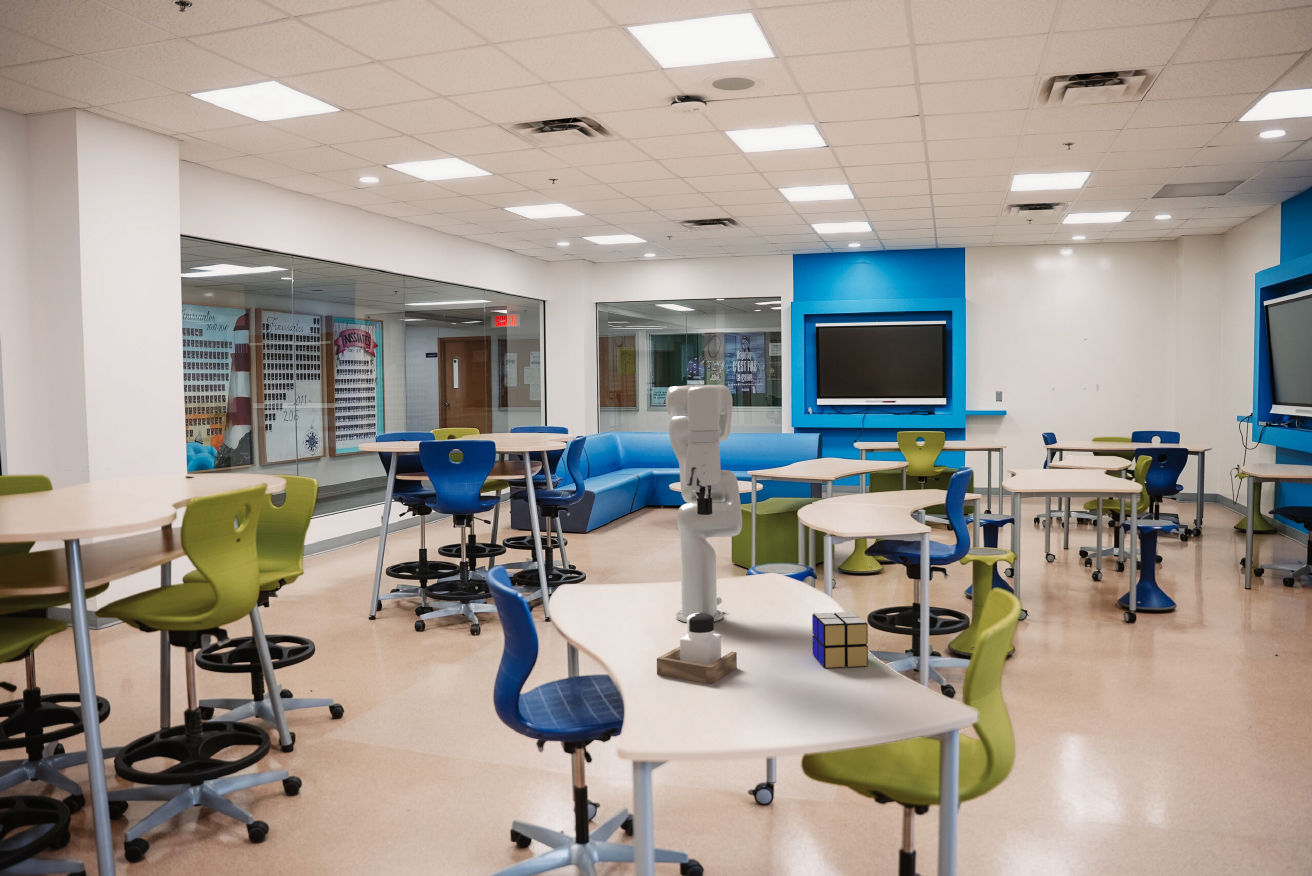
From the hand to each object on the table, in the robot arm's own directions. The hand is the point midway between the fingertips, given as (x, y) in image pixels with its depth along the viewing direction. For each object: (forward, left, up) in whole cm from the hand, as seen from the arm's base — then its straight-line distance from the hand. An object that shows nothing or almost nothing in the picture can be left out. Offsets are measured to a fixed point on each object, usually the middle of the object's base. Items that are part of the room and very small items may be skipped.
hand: (704, 514), depth 209 cm
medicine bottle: (+15, +7, -32) cm, 36 cm away
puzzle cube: (-4, +32, -32) cm, 46 cm away
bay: (+17, +7, -32) cm, 37 cm away
